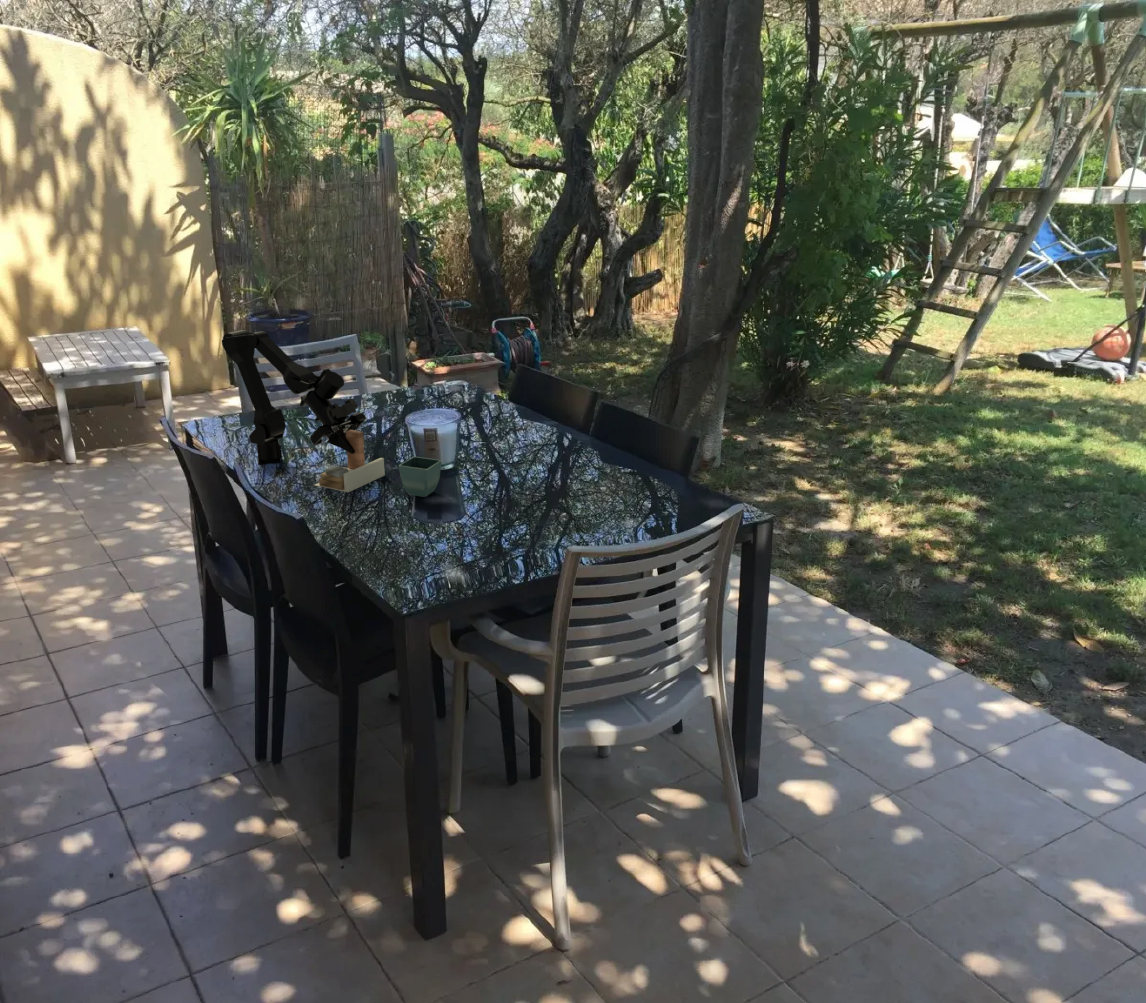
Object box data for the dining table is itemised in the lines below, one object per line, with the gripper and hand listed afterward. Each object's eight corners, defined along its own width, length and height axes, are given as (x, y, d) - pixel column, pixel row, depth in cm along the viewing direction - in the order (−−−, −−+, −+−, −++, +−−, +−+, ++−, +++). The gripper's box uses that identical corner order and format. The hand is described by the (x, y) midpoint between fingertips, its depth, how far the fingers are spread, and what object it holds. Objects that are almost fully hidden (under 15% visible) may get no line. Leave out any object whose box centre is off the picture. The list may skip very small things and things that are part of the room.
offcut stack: (319, 485, 273) (317, 468, 271) (332, 479, 277) (330, 463, 276) (342, 490, 269) (340, 473, 268) (354, 484, 274) (353, 467, 272)
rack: (314, 488, 273) (312, 467, 271) (351, 471, 287) (350, 452, 284) (348, 495, 268) (346, 474, 266) (384, 478, 282) (383, 458, 279)
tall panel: (348, 471, 281) (345, 431, 277) (352, 469, 283) (350, 429, 278) (361, 474, 279) (358, 433, 275) (365, 472, 281) (362, 431, 277)
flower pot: (443, 490, 273) (442, 459, 270) (428, 501, 265) (427, 469, 262) (414, 486, 276) (413, 456, 272) (399, 497, 268) (397, 465, 265)
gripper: (314, 399, 267) (349, 444, 266) (359, 384, 283) (392, 427, 282) (295, 423, 273) (329, 467, 273) (339, 407, 289) (371, 449, 288)
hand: (356, 451), depth 279 cm, fingers closed on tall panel, 2 cm apart
